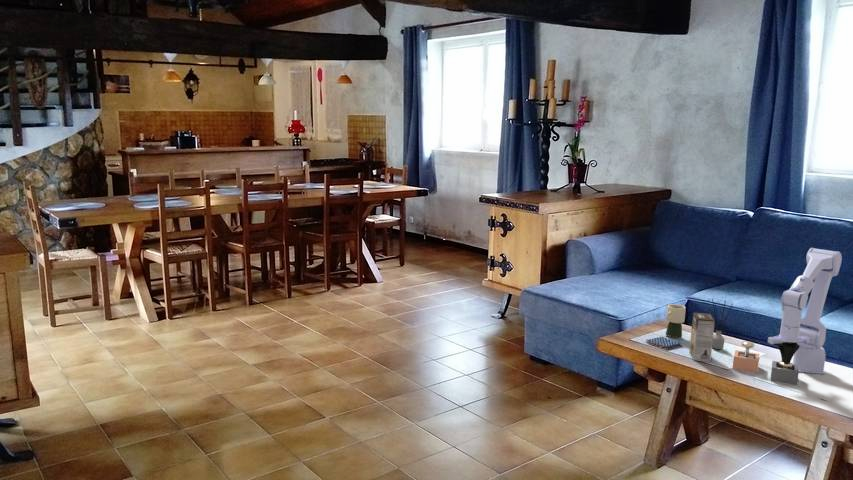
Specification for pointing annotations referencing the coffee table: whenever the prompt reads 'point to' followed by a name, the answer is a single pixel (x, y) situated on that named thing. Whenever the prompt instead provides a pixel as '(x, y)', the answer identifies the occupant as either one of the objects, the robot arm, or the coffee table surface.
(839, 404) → the coffee table surface
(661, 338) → the woven mat
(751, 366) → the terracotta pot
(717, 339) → the reed diffuser
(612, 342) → the coffee table surface
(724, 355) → the coffee table surface
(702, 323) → the coffee box
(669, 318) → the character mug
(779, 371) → the dark grey square socket
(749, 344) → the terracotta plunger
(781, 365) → the beige knobbed plunger
